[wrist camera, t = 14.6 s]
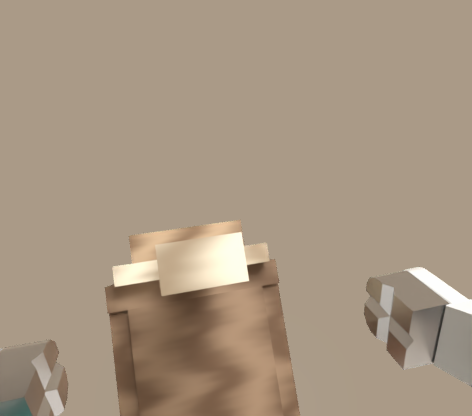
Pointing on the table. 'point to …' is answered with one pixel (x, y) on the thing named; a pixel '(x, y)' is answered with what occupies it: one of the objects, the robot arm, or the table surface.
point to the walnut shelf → (203, 349)
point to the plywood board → (191, 258)
